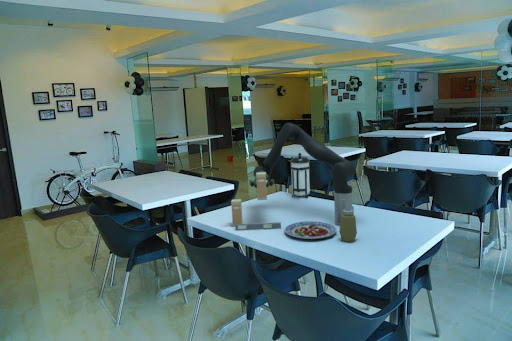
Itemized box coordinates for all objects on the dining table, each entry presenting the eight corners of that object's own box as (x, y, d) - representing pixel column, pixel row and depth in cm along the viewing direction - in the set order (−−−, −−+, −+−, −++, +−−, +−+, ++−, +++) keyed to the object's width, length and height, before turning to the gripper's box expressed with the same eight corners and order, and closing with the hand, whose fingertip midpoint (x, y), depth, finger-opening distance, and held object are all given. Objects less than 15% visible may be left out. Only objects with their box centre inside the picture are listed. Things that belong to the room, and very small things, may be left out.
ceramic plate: (320, 222, 215) (319, 217, 215) (346, 236, 191) (346, 230, 191) (276, 229, 206) (276, 224, 206) (299, 245, 183) (298, 239, 182)
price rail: (281, 227, 208) (280, 222, 208) (281, 228, 207) (280, 223, 206) (235, 229, 209) (235, 224, 209) (235, 230, 208) (235, 225, 207)
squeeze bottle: (344, 235, 192) (344, 199, 189) (359, 238, 187) (359, 202, 184) (336, 240, 186) (335, 203, 183) (352, 244, 181) (352, 206, 178)
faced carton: (233, 223, 219) (232, 199, 216) (242, 223, 219) (241, 199, 216) (232, 226, 214) (231, 201, 211) (241, 226, 214) (240, 201, 211)
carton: (257, 197, 215) (256, 172, 212) (266, 197, 215) (265, 172, 212) (257, 200, 210) (256, 174, 207) (266, 199, 209) (265, 174, 207)
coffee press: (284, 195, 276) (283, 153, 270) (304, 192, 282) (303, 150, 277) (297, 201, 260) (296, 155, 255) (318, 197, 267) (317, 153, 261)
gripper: (248, 173, 224) (247, 179, 208) (274, 172, 224) (274, 178, 207) (249, 186, 226) (248, 193, 209) (274, 185, 225) (275, 192, 209)
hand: (261, 185), depth 208 cm, fingers closed on carton, 5 cm apart
